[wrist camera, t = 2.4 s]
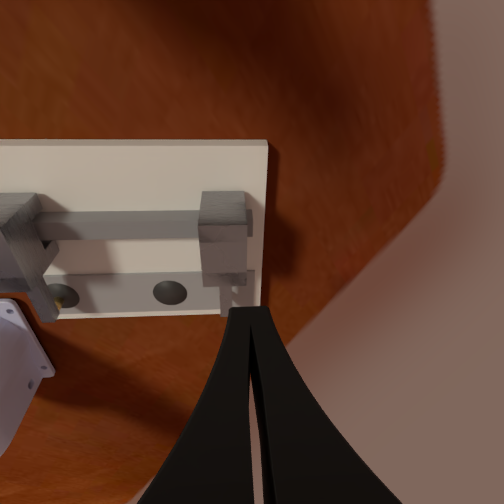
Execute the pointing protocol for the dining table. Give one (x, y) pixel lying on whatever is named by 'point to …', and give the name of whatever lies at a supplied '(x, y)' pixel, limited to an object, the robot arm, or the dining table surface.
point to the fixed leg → (26, 253)
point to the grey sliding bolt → (223, 243)
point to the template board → (135, 219)
